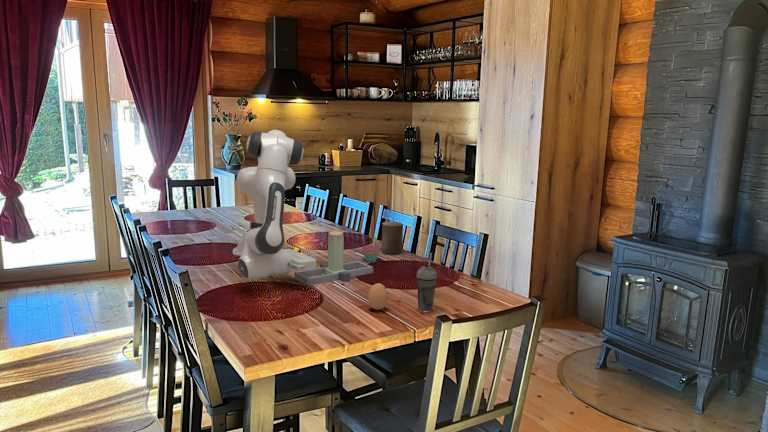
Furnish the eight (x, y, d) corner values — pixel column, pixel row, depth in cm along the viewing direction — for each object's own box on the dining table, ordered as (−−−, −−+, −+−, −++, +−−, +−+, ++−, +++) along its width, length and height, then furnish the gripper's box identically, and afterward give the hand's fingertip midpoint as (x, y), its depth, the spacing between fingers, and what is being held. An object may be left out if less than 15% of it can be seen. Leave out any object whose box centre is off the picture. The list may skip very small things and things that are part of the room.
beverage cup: (413, 306, 196) (415, 249, 192) (434, 306, 197) (436, 250, 193) (416, 314, 189) (418, 255, 185) (437, 314, 190) (440, 255, 186)
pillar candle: (400, 255, 260) (401, 223, 257) (379, 253, 262) (380, 221, 259) (403, 250, 270) (405, 219, 267) (383, 249, 271) (384, 218, 269)
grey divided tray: (312, 288, 212) (312, 280, 211) (290, 276, 226) (290, 268, 225) (378, 275, 230) (378, 267, 230) (353, 264, 244) (353, 257, 243)
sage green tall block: (333, 277, 224) (334, 235, 220) (324, 273, 229) (324, 231, 226) (346, 275, 227) (347, 233, 224) (337, 271, 233) (337, 229, 229)
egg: (387, 306, 196) (388, 280, 194) (388, 313, 189) (388, 286, 187) (367, 305, 195) (368, 280, 194) (367, 312, 189) (368, 286, 187)
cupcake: (382, 259, 254) (383, 232, 251) (376, 264, 246) (377, 237, 243) (364, 257, 256) (365, 230, 254) (357, 261, 248) (358, 234, 246)
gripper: (295, 259, 203) (328, 254, 212) (269, 247, 219) (301, 243, 227) (296, 276, 204) (328, 270, 213) (269, 263, 220) (301, 258, 229)
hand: (314, 256), depth 220 cm, fingers closed
